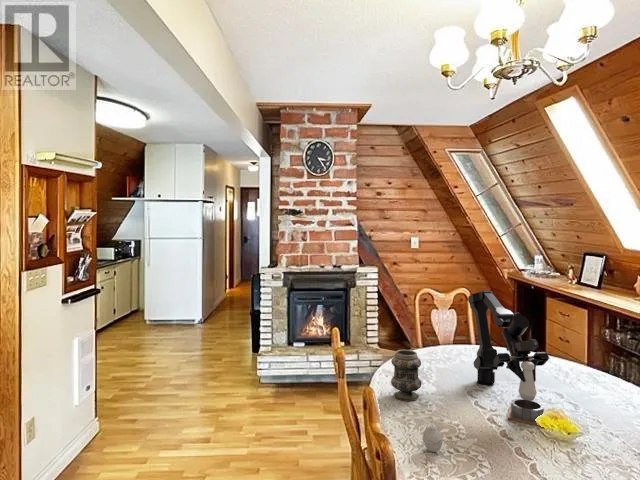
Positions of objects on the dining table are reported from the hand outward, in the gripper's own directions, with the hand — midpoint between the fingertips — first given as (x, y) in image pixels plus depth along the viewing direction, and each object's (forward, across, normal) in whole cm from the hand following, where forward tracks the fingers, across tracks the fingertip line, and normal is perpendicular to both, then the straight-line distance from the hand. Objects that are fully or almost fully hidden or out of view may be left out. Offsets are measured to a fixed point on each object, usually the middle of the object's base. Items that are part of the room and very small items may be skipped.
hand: (529, 381), depth 152 cm
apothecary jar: (-6, -38, +26) cm, 47 cm away
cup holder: (+9, 0, +10) cm, 13 cm away
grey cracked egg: (+23, -41, -4) cm, 47 cm away
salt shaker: (+4, 0, +6) cm, 7 cm away
